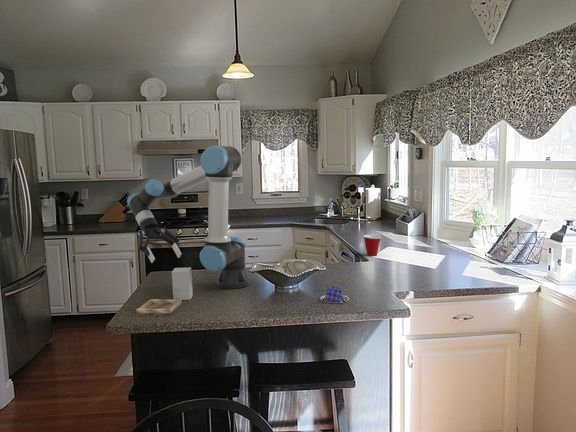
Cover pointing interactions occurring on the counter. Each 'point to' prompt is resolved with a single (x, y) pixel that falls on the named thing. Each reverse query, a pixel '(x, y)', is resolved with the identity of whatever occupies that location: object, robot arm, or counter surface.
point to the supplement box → (182, 283)
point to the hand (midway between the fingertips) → (166, 258)
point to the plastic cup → (372, 244)
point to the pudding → (334, 295)
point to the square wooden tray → (159, 307)
